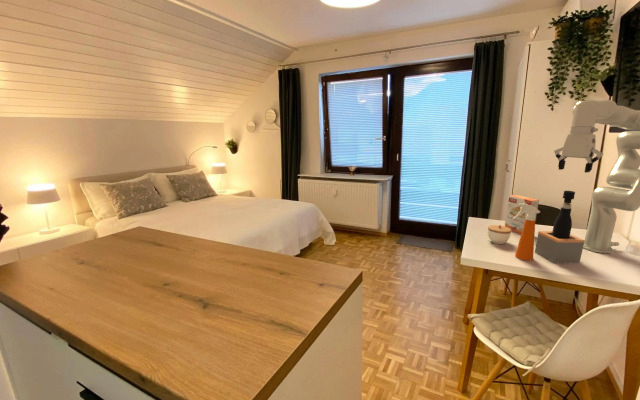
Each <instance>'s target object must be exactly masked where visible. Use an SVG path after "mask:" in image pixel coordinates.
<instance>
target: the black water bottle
mask: <svg viewBox="0 0 640 400" xmlns="http://www.w3.org/2000/svg"><path fill="white" fill-rule="evenodd" d="M575 194H576V191H572V190H564V191H563V195H562V199H564V200H563V202H562V203H561V207H560V210H559V214H558V215H557V216H556V218H555V221H554V223H553V228H552V230H551V231H552V236H554V237H556V238H558V239H569V237H570V234H571V231H572V227H573V226H572V225H573V221H572V215H571V213H572V200H575Z"/></svg>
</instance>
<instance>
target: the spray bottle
mask: <svg viewBox="0 0 640 400" xmlns="http://www.w3.org/2000/svg"><path fill="white" fill-rule="evenodd" d="M519 206H521V208H520V209H521V210H520V212H519V213H518V214H517V215H516V216H515V217H514V218H513V219H515V218H518V217H519V216H521V215H522V214H524V213H525V212H528V214H527V215H526V220H525V223H524V227H523V230H522V234H520V238H519V241H518V244H517V247H516V251H515V254H514V255H515V258H517V259H519V260H522V261H533V260H534V253H535V233H536V220H537V215H536V216H535V214H536V213H537V214H539V213H541V211H540V210H539V208H538V209H536V208H534V207H532V206H530V205H527V204H524V203H523V204H522V203H519ZM524 210H526V211H524ZM535 219H536V220H535Z"/></svg>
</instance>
